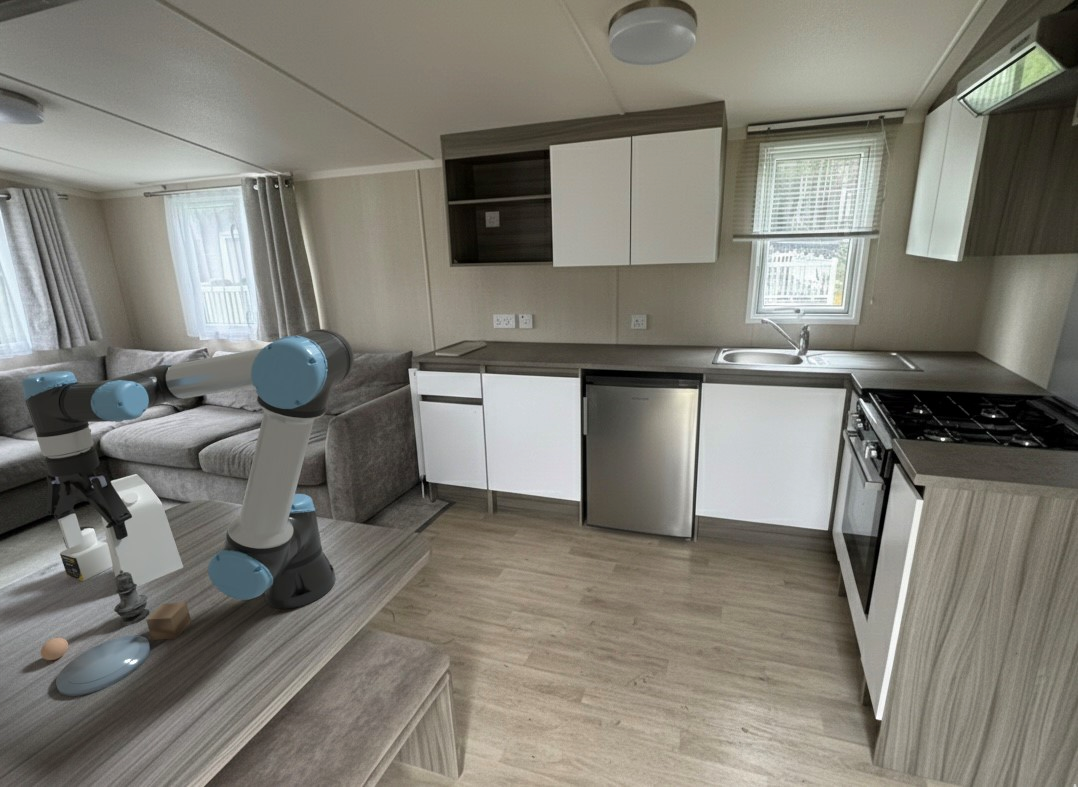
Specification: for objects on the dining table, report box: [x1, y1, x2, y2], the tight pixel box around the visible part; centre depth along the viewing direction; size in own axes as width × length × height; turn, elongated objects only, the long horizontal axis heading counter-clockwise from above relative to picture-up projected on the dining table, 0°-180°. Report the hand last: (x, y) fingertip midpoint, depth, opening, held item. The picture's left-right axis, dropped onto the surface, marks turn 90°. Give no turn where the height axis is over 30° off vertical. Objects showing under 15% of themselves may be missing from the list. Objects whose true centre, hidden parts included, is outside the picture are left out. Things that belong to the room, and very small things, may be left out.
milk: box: [100, 473, 184, 588], centre depth 128 cm, size 12×12×26 cm
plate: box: [55, 634, 151, 697], centre depth 99 cm, size 14×14×1 cm
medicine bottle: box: [59, 526, 113, 582], centre depth 131 cm, size 7×7×12 cm
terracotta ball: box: [40, 637, 69, 661], centre depth 101 cm, size 4×4×4 cm
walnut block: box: [145, 602, 192, 641], centre depth 107 cm, size 5×5×5 cm
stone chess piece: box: [113, 570, 151, 626], centre depth 111 cm, size 6×6×12 cm
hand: (99, 548), depth 103 cm, fingers open, 13 cm apart
